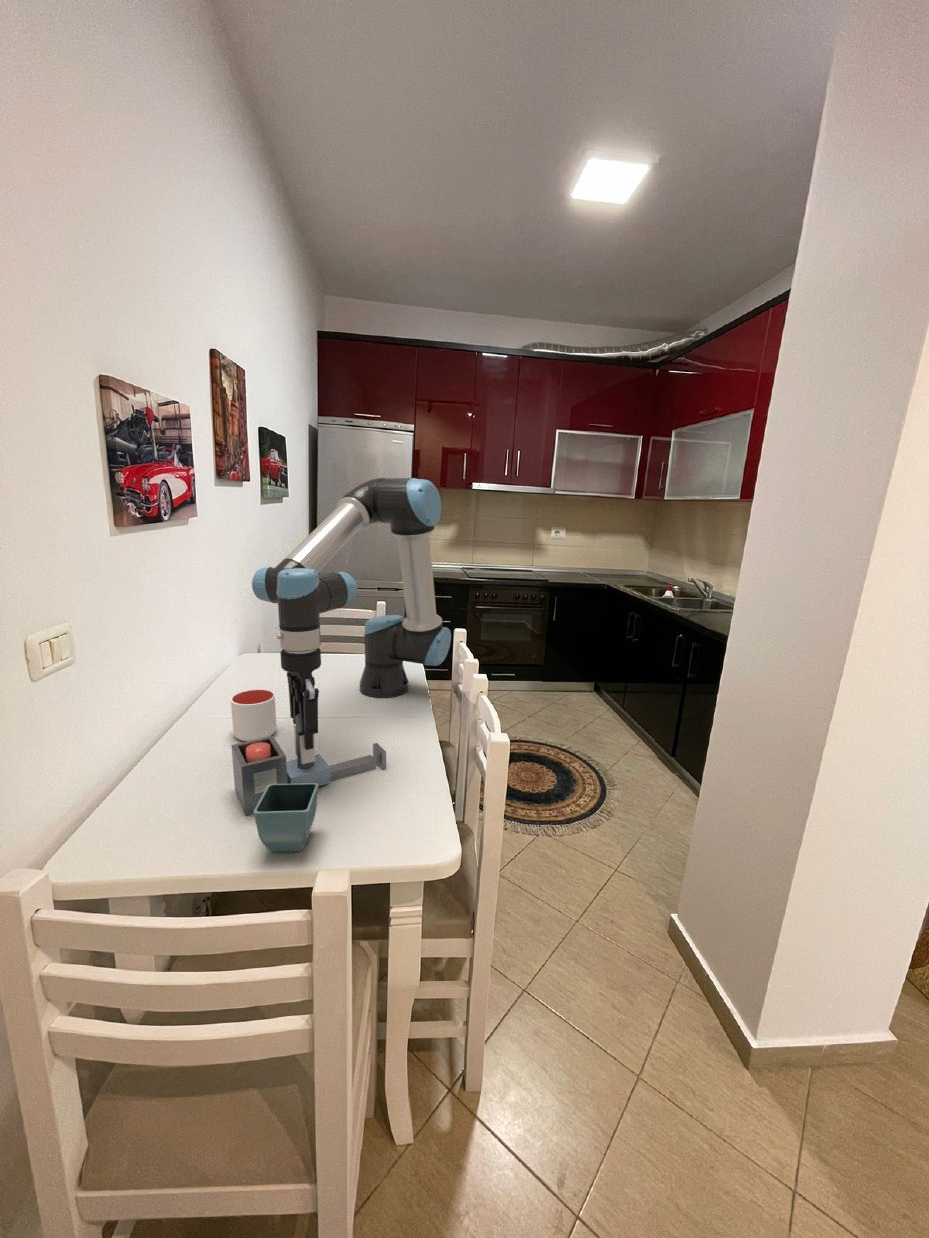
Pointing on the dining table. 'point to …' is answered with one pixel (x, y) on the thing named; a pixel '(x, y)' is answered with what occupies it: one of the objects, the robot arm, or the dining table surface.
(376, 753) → the rail
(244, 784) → the open box
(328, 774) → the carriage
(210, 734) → the dining table surface
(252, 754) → the button
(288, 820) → the flower pot
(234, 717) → the cup
